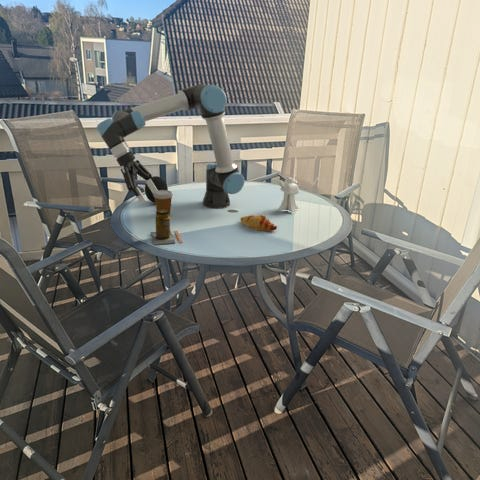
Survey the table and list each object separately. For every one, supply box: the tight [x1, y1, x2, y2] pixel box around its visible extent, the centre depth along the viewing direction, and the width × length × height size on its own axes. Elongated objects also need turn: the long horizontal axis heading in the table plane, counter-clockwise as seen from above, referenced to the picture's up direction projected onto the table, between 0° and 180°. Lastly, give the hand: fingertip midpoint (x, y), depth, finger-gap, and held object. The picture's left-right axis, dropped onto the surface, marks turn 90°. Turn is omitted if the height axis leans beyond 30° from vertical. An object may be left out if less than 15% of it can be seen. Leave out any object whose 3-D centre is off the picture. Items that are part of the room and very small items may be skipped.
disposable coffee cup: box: [153, 189, 174, 217], centre depth 208 cm, size 10×10×12 cm
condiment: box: [153, 209, 175, 241], centre depth 178 cm, size 7×8×12 cm
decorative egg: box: [144, 175, 169, 204], centre depth 225 cm, size 12×12×15 cm
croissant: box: [240, 214, 278, 232], centre depth 198 cm, size 21×10×8 cm, turn 54°
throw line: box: [174, 230, 183, 244], centre depth 183 cm, size 1×14×1 cm, turn 18°
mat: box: [150, 230, 176, 246], centre depth 181 cm, size 9×14×1 cm, turn 17°
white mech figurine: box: [277, 176, 300, 213], centre depth 221 cm, size 12×13×18 cm
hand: (149, 197), depth 183 cm, fingers open, 13 cm apart
